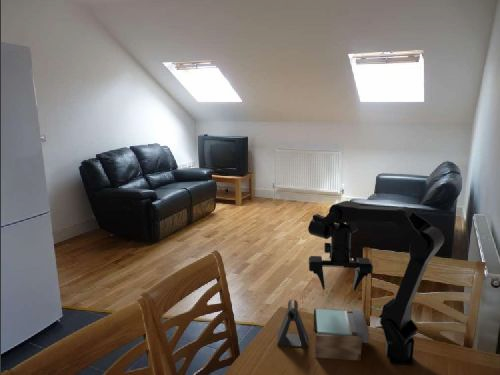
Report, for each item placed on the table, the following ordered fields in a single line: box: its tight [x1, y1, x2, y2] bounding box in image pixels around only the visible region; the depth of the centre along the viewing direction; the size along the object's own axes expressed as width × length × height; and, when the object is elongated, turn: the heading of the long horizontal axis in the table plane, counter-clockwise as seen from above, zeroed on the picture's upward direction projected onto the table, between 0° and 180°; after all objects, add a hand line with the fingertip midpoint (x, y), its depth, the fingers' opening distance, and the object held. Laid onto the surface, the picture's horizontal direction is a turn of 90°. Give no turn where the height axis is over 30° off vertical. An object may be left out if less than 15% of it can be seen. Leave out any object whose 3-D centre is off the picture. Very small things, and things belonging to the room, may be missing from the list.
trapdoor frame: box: [313, 308, 363, 361], centre depth 115 cm, size 12×14×7 cm
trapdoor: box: [315, 308, 370, 344], centre depth 114 cm, size 14×12×3 cm
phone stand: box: [276, 299, 309, 349], centre depth 116 cm, size 9×6×12 cm, turn 84°
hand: (338, 290), depth 121 cm, fingers open, 9 cm apart
